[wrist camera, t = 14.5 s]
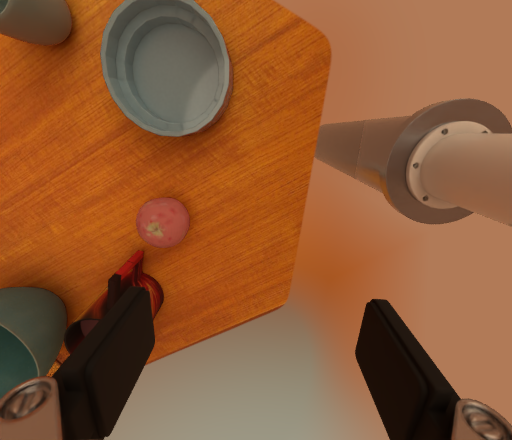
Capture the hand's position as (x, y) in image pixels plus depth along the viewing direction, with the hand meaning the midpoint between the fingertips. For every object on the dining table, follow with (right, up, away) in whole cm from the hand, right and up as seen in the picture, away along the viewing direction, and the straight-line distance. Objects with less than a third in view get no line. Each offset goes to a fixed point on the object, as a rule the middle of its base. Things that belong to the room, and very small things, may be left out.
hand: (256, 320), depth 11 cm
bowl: (-11, +24, +24) cm, 35 cm away
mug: (-22, -7, +35) cm, 43 cm away
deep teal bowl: (-41, -12, +37) cm, 57 cm away
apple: (-14, +5, +31) cm, 34 cm away
